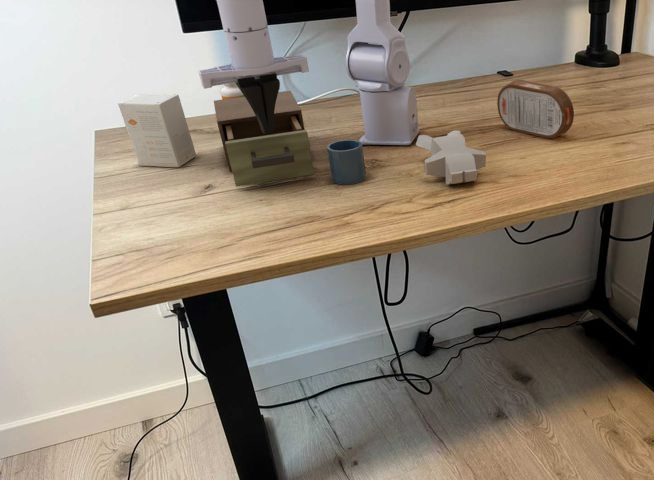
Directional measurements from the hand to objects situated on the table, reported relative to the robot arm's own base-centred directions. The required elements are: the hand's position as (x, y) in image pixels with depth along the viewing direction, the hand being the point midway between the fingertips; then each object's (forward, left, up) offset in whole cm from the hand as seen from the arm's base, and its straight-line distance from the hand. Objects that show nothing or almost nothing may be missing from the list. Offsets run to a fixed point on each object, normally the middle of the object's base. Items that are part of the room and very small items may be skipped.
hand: (267, 131), depth 94 cm
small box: (+25, -10, -9) cm, 29 cm away
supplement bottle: (+20, -29, -9) cm, 37 cm away
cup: (-9, -5, -9) cm, 14 cm away
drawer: (+3, -5, -8) cm, 10 cm away
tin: (-36, -28, -9) cm, 47 cm away
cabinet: (+9, -15, -9) cm, 20 cm away
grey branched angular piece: (-25, -9, -9) cm, 28 cm away
